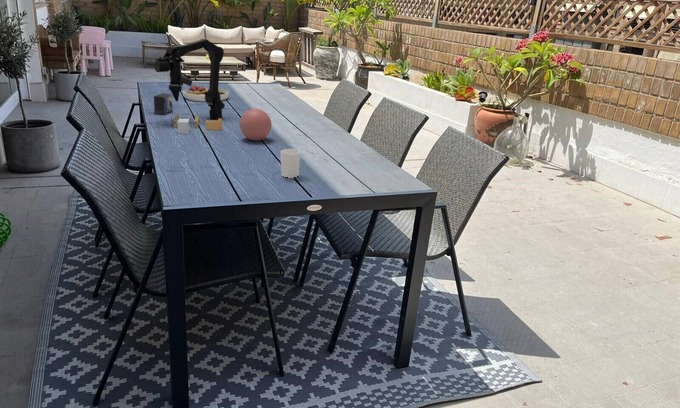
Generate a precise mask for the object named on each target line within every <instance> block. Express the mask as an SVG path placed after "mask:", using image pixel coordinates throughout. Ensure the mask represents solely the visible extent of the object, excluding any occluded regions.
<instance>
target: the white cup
mask: <svg viewBox="0 0 680 408" xmlns="http://www.w3.org/2000/svg"><path fill="white" fill-rule="evenodd" d="M301 154H302V153H301V150H298V149H294V148H285V149H281V150H280V169H281V176H282V177H283V176H284V177H283V178H285V177H288V178H287V179H295V178H294V177H296V178H298V177H299V170H300V167H301V166H300V164H301ZM297 176H298V177H297Z"/></svg>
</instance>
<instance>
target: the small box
mask: <svg viewBox="0 0 680 408" xmlns="http://www.w3.org/2000/svg"><path fill="white" fill-rule="evenodd" d="M153 105H154V115H161V116H165V115H168V114H171V113H173V111H174V109H173V107H174V106H173V94H172V93H171V94H169V93H159V94H155V95H153Z"/></svg>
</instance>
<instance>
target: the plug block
mask: <svg viewBox="0 0 680 408" xmlns="http://www.w3.org/2000/svg"><path fill="white" fill-rule="evenodd" d="M177 124H178V126H177V134H178V135H189V133H190V130H191V129H190V119H189V118H179V120H178V122H177Z"/></svg>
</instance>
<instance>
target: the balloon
mask: <svg viewBox="0 0 680 408" xmlns="http://www.w3.org/2000/svg"><path fill="white" fill-rule="evenodd" d="M239 129H240V131H241V133H242V135H243V136H244V137H245V138H246V139H248V140H249V141H250V140H251V141H255V142H256V141H261V140H265V138H267V137H268V136H269V134H270V133H271V130H272V120H271V117H270V115H269V114H268V113H267V112H265V110H262V109H259V108H251V109H248V110H247V111H245V112H243V114H242V115H241V117H240V120H239Z"/></svg>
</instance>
